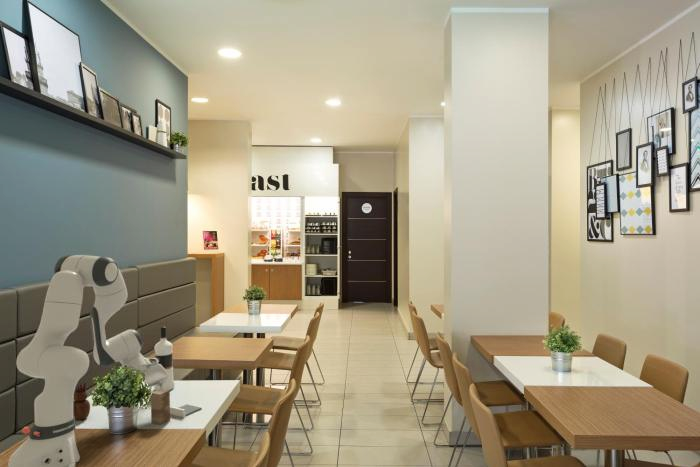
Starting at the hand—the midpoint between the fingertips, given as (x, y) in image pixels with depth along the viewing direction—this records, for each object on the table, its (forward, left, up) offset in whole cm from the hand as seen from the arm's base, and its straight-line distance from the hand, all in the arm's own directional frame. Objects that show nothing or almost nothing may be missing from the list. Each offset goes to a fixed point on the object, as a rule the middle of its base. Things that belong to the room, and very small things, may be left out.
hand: (153, 395), depth 204 cm
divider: (+7, -3, -10) cm, 13 cm away
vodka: (+29, +28, -10) cm, 42 cm away
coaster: (+13, -4, -10) cm, 17 cm away
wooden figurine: (-13, +28, -10) cm, 33 cm away
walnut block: (0, -4, -10) cm, 11 cm away
